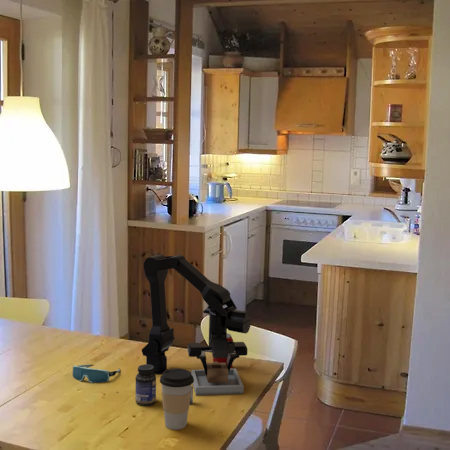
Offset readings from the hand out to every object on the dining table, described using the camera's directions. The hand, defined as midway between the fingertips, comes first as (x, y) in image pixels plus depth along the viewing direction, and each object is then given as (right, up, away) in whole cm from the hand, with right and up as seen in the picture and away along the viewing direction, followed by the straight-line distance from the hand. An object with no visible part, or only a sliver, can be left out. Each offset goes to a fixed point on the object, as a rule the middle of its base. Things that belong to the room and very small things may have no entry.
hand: (216, 374), depth 208 cm
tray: (0, -3, +1) cm, 4 cm away
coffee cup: (-11, -8, -28) cm, 31 cm away
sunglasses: (-40, -2, +7) cm, 41 cm away
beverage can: (+2, -2, +15) cm, 15 cm away
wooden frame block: (0, -1, 0) cm, 1 cm away
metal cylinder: (-8, -5, -14) cm, 17 cm away
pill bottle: (-21, -5, -14) cm, 26 cm away
